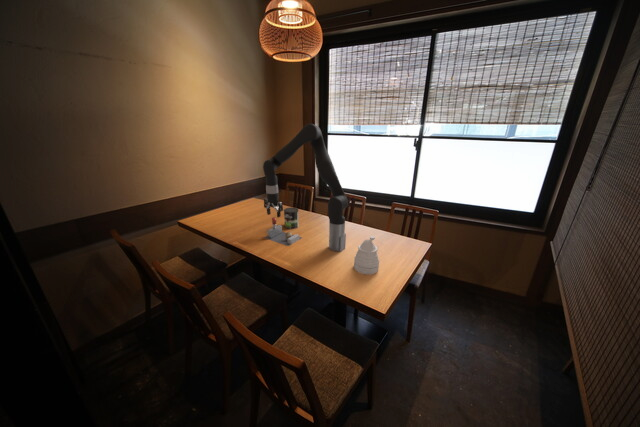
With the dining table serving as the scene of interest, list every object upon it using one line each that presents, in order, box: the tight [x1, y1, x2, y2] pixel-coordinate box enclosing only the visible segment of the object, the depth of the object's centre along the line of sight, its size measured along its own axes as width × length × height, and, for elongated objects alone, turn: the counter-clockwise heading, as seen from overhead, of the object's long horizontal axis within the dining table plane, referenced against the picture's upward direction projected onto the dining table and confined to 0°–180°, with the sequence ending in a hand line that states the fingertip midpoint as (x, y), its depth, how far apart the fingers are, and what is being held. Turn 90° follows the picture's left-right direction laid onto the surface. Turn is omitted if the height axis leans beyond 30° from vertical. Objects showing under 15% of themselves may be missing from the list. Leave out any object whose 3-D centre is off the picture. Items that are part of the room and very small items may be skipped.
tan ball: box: [285, 231, 293, 238], centre depth 158 cm, size 4×4×4 cm
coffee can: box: [283, 206, 300, 230], centre depth 178 cm, size 10×10×14 cm
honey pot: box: [353, 235, 380, 275], centre depth 129 cm, size 13×13×18 cm
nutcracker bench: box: [263, 231, 302, 247], centre depth 162 cm, size 21×14×4 cm, turn 56°
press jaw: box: [266, 217, 283, 238], centre depth 163 cm, size 3×11×12 cm, turn 146°
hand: (273, 215), depth 161 cm, fingers open, 8 cm apart
